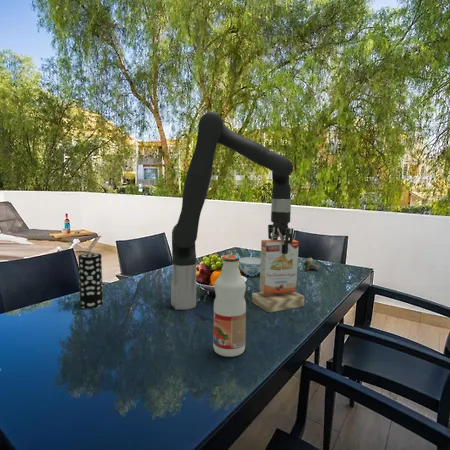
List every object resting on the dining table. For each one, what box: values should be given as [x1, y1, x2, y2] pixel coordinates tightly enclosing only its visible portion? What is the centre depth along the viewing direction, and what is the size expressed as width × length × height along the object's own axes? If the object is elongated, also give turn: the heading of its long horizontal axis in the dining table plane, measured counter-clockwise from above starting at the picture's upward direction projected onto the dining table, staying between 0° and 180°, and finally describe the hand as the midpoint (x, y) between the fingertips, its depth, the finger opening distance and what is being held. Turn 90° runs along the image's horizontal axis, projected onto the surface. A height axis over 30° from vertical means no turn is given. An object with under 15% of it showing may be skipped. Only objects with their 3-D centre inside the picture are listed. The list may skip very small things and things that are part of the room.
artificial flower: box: [297, 257, 320, 272], centre depth 190 cm, size 9×22×10 cm, turn 99°
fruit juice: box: [212, 254, 247, 357], centre depth 98 cm, size 9×9×28 cm
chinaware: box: [238, 256, 261, 277], centre depth 181 cm, size 15×15×8 cm
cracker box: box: [259, 239, 300, 294], centre depth 135 cm, size 14×6×21 cm, turn 105°
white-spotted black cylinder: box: [77, 252, 104, 310], centre depth 133 cm, size 8×8×20 cm
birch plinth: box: [251, 291, 305, 313], centre depth 137 cm, size 17×12×4 cm
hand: (279, 252), depth 135 cm, fingers closed on cracker box, 6 cm apart
